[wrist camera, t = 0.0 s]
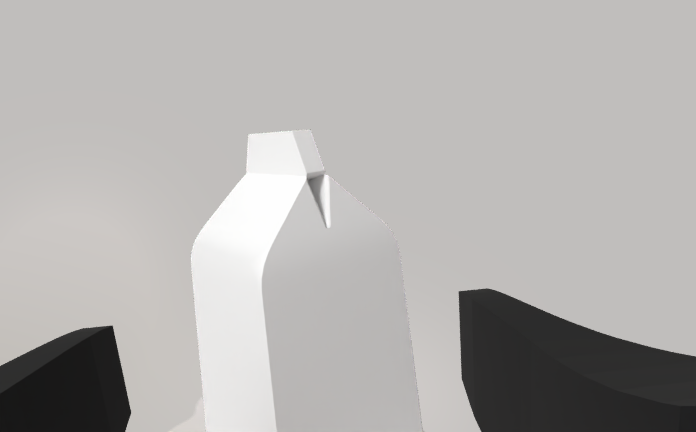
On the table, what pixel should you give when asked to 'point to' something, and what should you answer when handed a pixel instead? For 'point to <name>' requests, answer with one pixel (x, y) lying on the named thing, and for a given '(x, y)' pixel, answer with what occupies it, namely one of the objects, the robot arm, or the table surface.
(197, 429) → the table surface
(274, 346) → the milk
